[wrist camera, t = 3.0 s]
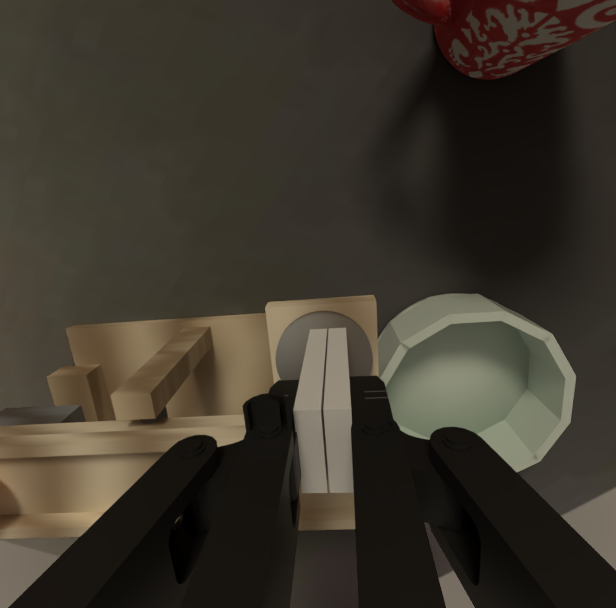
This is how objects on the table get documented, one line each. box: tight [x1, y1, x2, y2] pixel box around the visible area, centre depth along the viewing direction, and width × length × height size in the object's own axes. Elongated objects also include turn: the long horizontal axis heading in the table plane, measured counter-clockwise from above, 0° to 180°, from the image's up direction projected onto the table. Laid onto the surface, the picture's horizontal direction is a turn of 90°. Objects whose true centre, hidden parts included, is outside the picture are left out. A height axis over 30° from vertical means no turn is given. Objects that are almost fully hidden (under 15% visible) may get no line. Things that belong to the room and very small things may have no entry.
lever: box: [0, 295, 379, 539], centre depth 20 cm, size 24×12×6 cm, turn 95°
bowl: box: [377, 293, 576, 472], centre depth 26 cm, size 12×12×5 cm
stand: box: [47, 313, 274, 422], centre depth 25 cm, size 17×11×11 cm, turn 95°
